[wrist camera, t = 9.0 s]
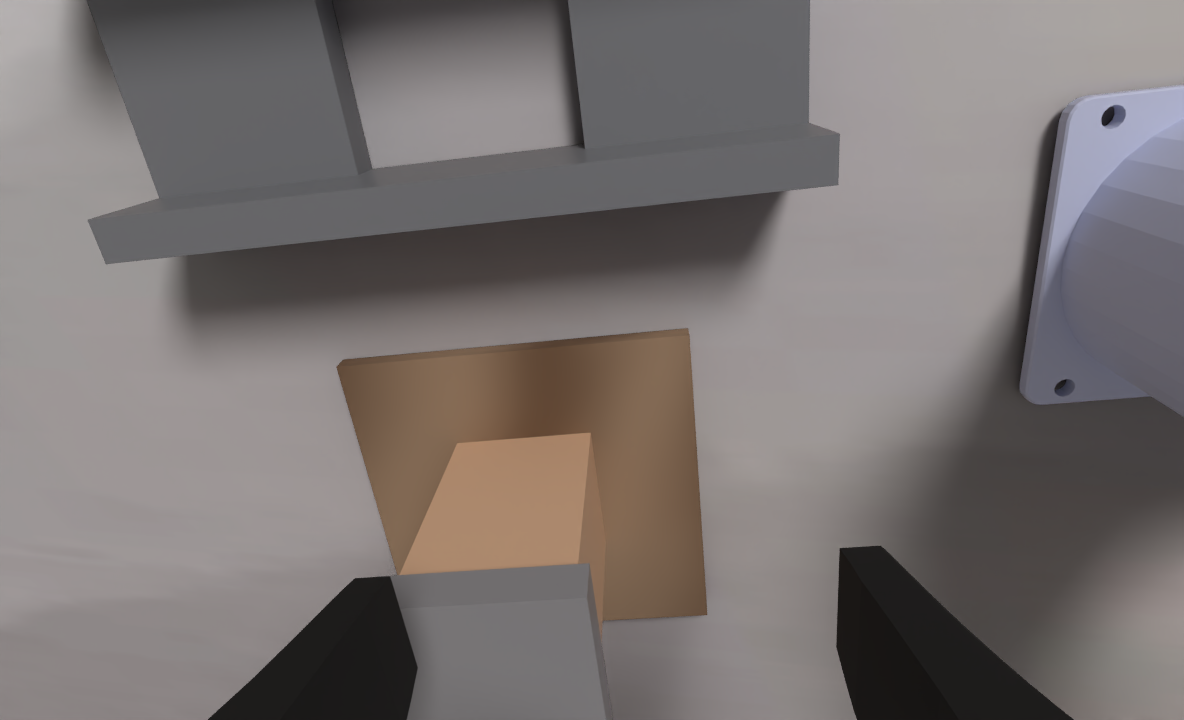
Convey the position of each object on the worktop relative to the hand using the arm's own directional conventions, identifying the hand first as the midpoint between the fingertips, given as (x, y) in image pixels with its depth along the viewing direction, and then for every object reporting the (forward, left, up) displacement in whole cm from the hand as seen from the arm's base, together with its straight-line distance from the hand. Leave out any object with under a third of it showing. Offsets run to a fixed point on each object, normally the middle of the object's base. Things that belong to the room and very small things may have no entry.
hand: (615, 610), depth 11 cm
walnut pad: (+3, +4, -9) cm, 11 cm away
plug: (+3, +4, -9) cm, 10 cm away
